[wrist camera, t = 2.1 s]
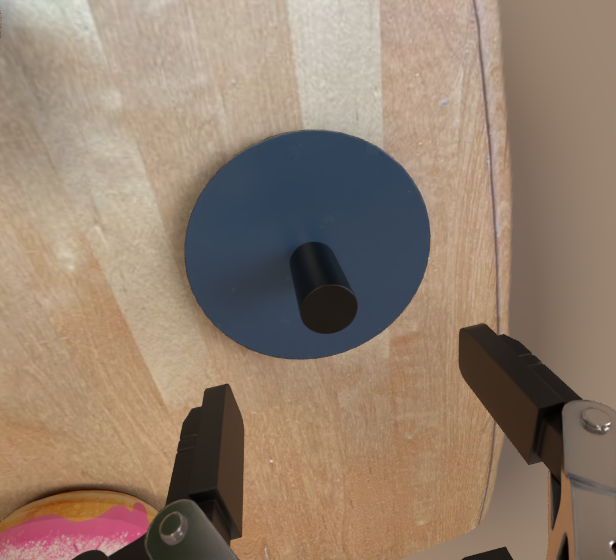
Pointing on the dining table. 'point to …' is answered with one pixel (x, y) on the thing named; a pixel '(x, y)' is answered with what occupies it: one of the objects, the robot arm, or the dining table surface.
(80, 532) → the donut
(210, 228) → the lid
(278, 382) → the dining table surface
